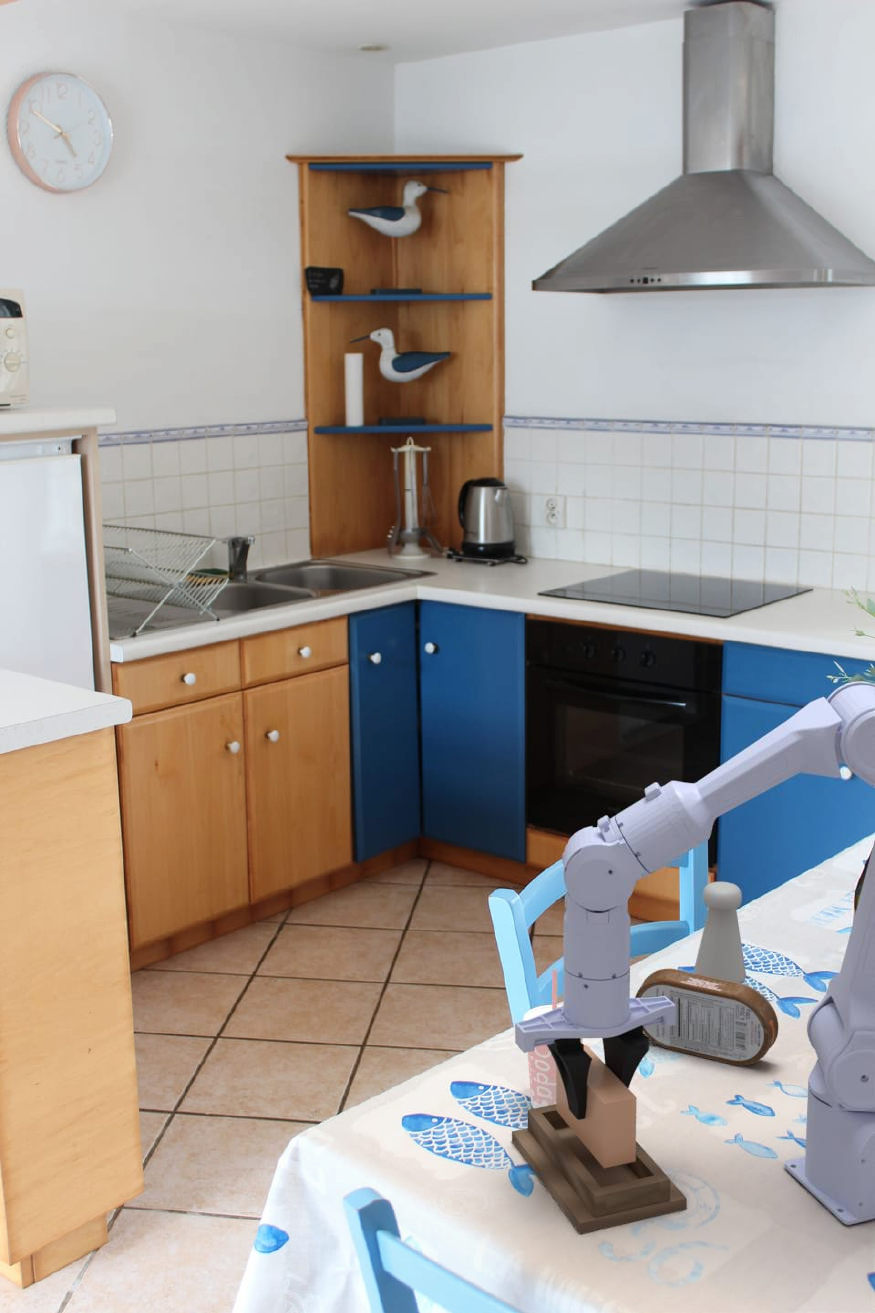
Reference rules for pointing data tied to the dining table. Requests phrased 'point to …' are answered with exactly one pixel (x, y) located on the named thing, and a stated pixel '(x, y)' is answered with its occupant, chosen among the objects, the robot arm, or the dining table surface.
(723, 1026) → the tin
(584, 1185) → the tray
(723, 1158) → the dining table surface
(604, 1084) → the tan rectangular block
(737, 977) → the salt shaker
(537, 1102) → the beverage cup
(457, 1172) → the dining table surface
